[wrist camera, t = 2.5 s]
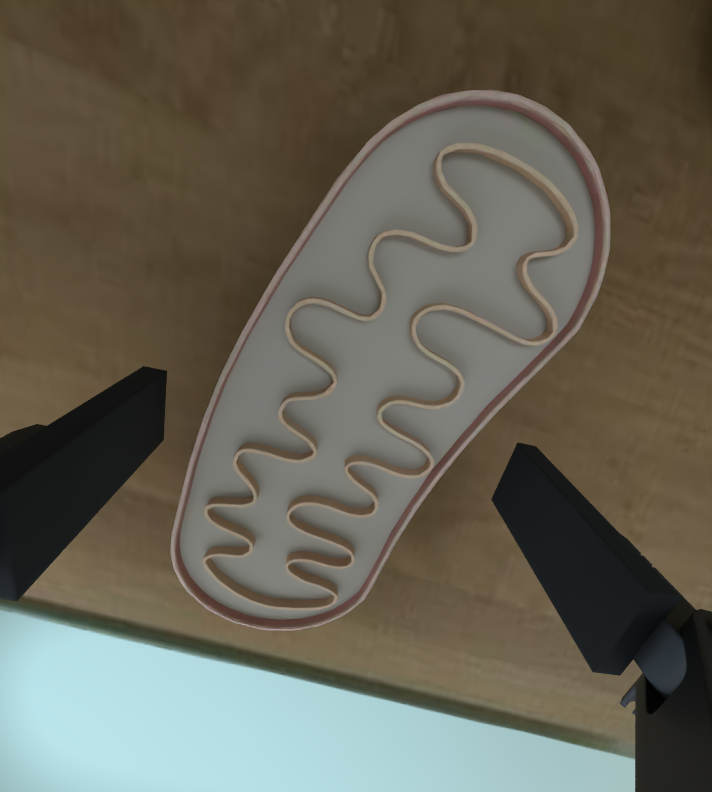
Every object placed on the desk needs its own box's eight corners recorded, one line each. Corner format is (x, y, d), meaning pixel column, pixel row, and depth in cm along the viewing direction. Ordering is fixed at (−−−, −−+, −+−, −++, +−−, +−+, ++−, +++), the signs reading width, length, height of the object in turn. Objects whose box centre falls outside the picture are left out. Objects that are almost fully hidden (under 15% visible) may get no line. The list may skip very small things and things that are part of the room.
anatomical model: (327, 570, 23) (322, 653, 18) (172, 511, 21) (123, 588, 16) (578, 218, 16) (677, 209, 11) (377, 69, 13) (395, -20, 9)
